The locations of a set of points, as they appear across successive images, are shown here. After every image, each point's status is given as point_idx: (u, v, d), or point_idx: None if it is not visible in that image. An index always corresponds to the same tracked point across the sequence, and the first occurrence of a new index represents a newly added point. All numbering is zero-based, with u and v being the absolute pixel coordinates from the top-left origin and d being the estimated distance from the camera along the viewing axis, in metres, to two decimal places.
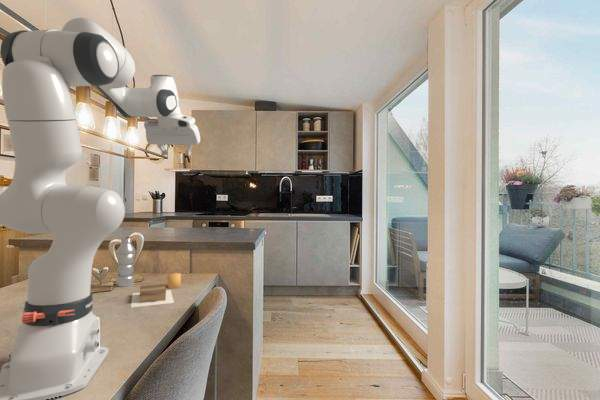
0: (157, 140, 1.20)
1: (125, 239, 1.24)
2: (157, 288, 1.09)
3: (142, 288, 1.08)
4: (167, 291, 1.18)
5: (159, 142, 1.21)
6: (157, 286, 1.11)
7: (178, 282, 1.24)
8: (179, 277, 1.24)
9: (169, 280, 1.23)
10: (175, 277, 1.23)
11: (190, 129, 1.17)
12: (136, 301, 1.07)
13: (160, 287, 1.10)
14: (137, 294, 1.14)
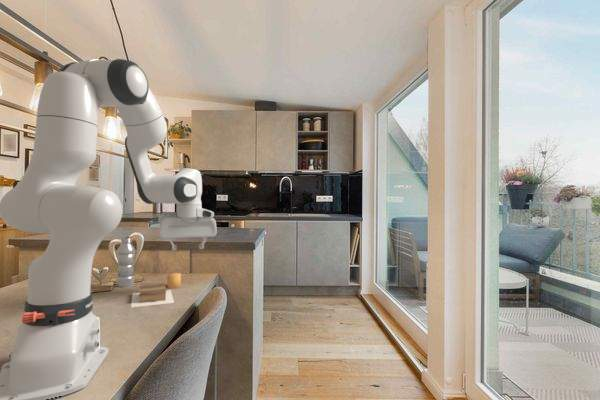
0: (172, 233, 1.12)
1: (125, 239, 1.24)
2: (157, 288, 1.09)
3: (142, 288, 1.08)
4: (167, 291, 1.18)
5: (174, 235, 1.12)
6: (157, 286, 1.11)
7: (178, 282, 1.24)
8: (179, 277, 1.24)
9: (169, 280, 1.23)
10: (175, 277, 1.23)
11: (212, 219, 1.18)
12: (136, 301, 1.07)
13: (160, 287, 1.10)
14: (137, 294, 1.14)
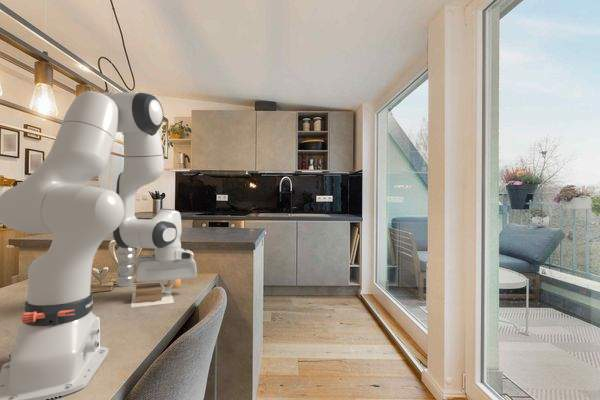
0: (150, 276, 1.09)
1: None
2: (153, 288, 1.08)
3: (138, 288, 1.08)
4: None
5: (151, 279, 1.09)
6: (153, 286, 1.11)
7: (178, 282, 1.24)
8: None
9: (169, 280, 1.23)
10: None
11: (192, 261, 1.14)
12: None
13: (156, 287, 1.10)
14: None
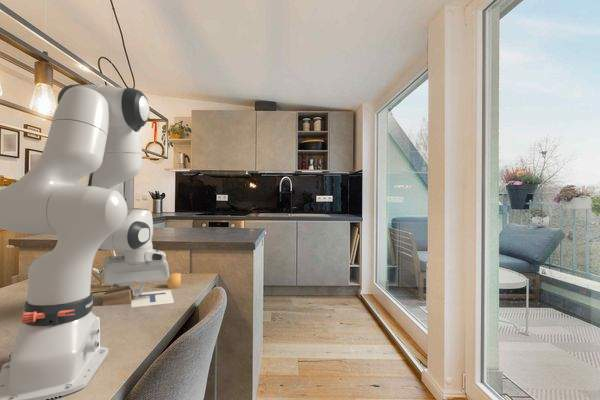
0: (118, 279, 1.05)
1: None
2: (120, 291, 1.05)
3: (106, 293, 1.04)
4: (167, 291, 1.18)
5: (120, 281, 1.05)
6: (122, 289, 1.07)
7: (178, 282, 1.24)
8: (179, 277, 1.24)
9: (169, 280, 1.23)
10: (175, 277, 1.23)
11: (164, 262, 1.10)
12: (136, 301, 1.07)
13: (124, 290, 1.06)
14: None
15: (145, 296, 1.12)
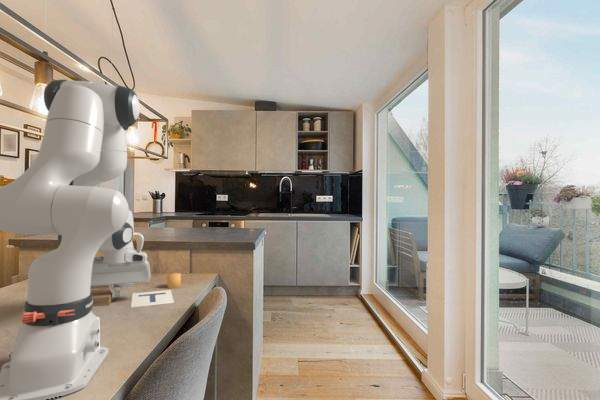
0: (97, 280, 1.02)
1: None
2: (100, 296, 1.03)
3: None
4: (167, 291, 1.18)
5: (99, 282, 1.02)
6: (103, 294, 1.05)
7: (178, 282, 1.24)
8: (179, 277, 1.24)
9: (169, 280, 1.23)
10: (175, 277, 1.23)
11: (145, 263, 1.07)
12: (136, 301, 1.07)
13: (105, 295, 1.04)
14: (137, 294, 1.14)
15: (145, 296, 1.12)
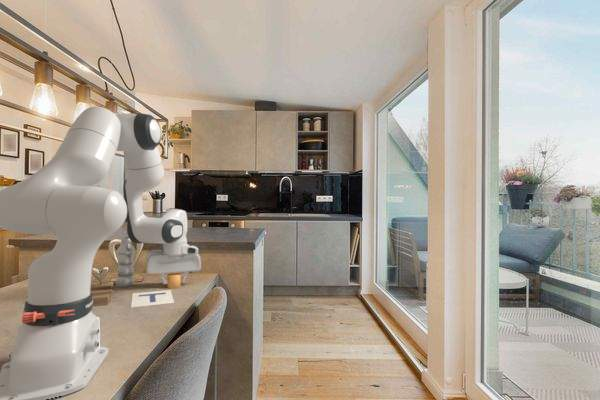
0: (159, 269, 1.21)
1: (125, 239, 1.24)
2: (99, 296, 1.03)
3: None
4: (167, 291, 1.18)
5: (161, 271, 1.21)
6: (101, 294, 1.05)
7: (178, 282, 1.24)
8: (179, 277, 1.24)
9: (169, 280, 1.23)
10: (175, 277, 1.23)
11: (197, 255, 1.27)
12: (136, 301, 1.07)
13: (103, 295, 1.04)
14: (137, 294, 1.14)
15: (145, 296, 1.12)
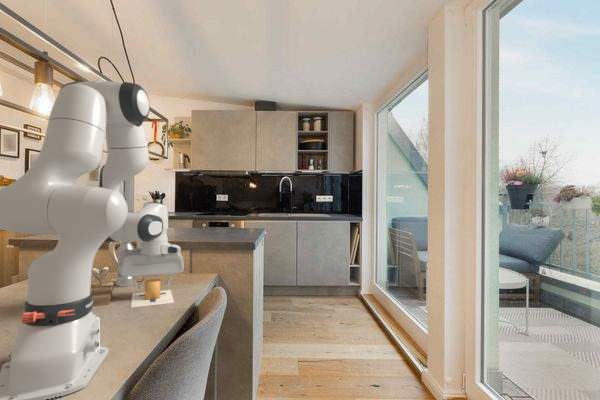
0: (135, 271, 1.07)
1: None
2: (99, 296, 1.03)
3: None
4: (167, 291, 1.18)
5: (137, 273, 1.07)
6: (101, 294, 1.05)
7: (157, 290, 1.10)
8: (158, 284, 1.10)
9: (147, 287, 1.09)
10: (153, 284, 1.09)
11: (179, 255, 1.12)
12: (136, 301, 1.07)
13: (104, 295, 1.04)
14: (137, 294, 1.14)
15: None
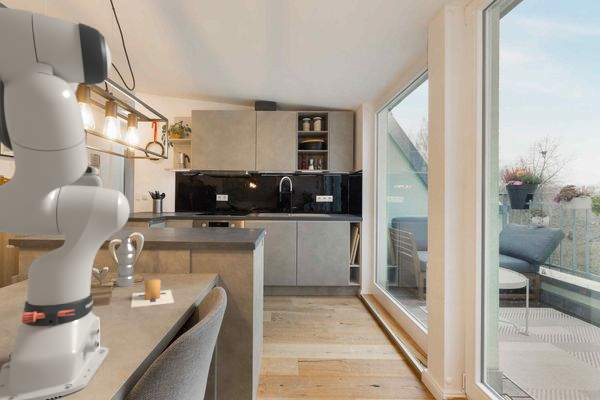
0: None
1: (125, 239, 1.24)
2: (100, 296, 1.03)
3: None
4: (167, 291, 1.18)
5: None
6: (101, 294, 1.05)
7: (157, 290, 1.10)
8: (158, 284, 1.10)
9: (147, 287, 1.09)
10: (153, 284, 1.09)
11: (95, 177, 0.96)
12: (136, 301, 1.07)
13: (104, 295, 1.04)
14: (137, 294, 1.14)
15: None
